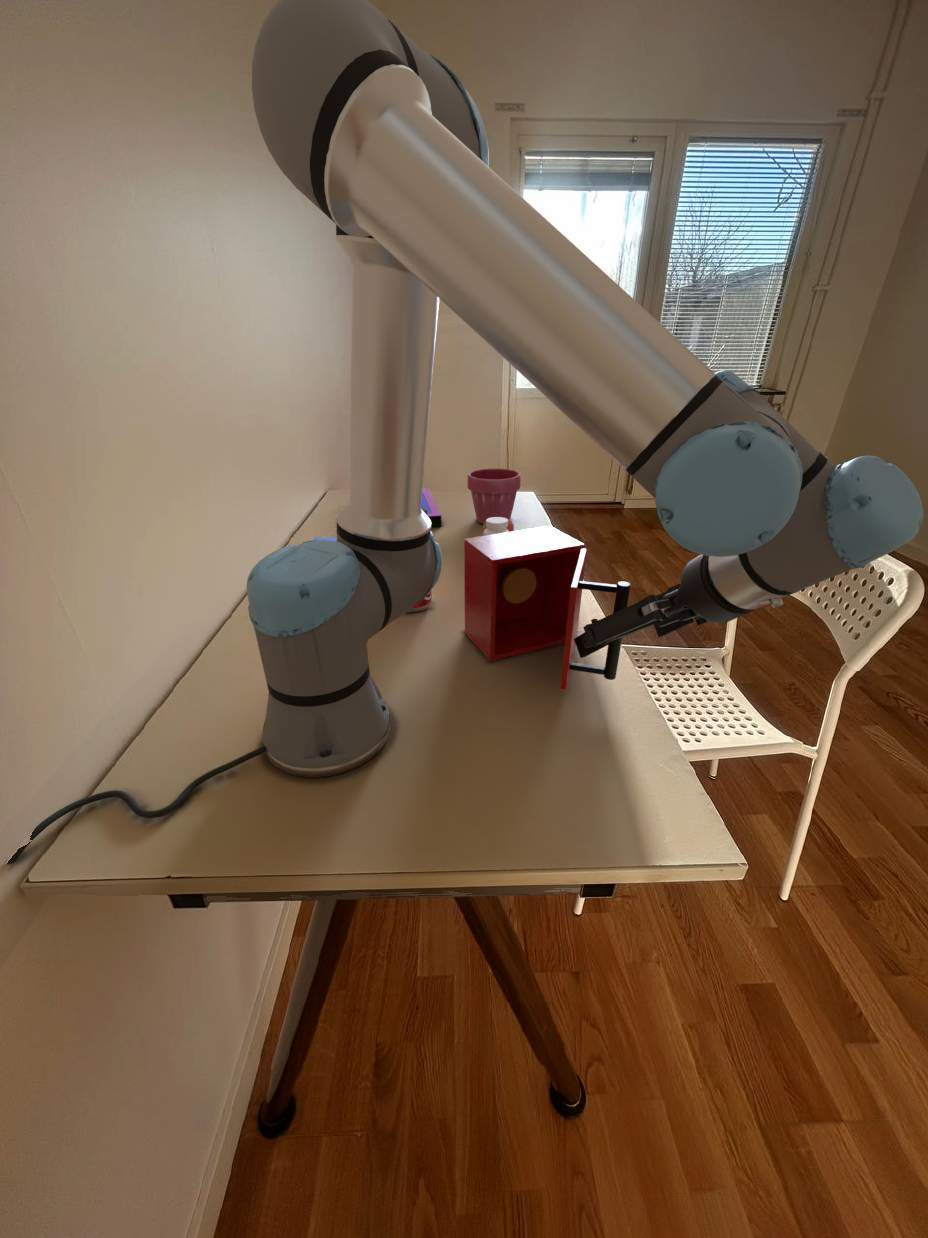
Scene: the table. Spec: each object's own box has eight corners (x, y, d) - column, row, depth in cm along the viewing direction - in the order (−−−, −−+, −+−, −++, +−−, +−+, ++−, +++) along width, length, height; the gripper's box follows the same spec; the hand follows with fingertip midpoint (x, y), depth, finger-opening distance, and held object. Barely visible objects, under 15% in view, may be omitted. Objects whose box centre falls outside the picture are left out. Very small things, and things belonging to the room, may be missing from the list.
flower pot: (464, 513, 147) (464, 468, 141) (513, 511, 148) (515, 466, 142) (471, 529, 134) (471, 480, 128) (523, 527, 136) (526, 478, 130)
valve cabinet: (574, 640, 84) (585, 544, 76) (490, 661, 79) (492, 560, 71) (543, 615, 92) (550, 525, 84) (464, 632, 87) (464, 538, 79)
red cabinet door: (617, 645, 81) (631, 552, 73) (613, 698, 69) (630, 593, 62) (571, 639, 83) (581, 547, 75) (560, 689, 71) (570, 586, 63)
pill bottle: (489, 570, 110) (490, 525, 106) (478, 561, 115) (478, 517, 110) (513, 566, 112) (515, 521, 108) (501, 557, 117) (502, 514, 112)
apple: (485, 552, 120) (485, 518, 116) (480, 541, 126) (480, 509, 122) (516, 550, 121) (517, 517, 117) (509, 540, 127) (510, 508, 123)
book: (360, 520, 132) (360, 491, 158) (361, 531, 134) (361, 500, 160) (441, 515, 135) (427, 487, 161) (441, 526, 137) (428, 497, 163)
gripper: (652, 637, 46) (551, 685, 66) (835, 589, 55) (698, 643, 74) (622, 562, 48) (533, 630, 68) (804, 526, 57) (678, 596, 76)
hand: (619, 637), depth 71 cm, fingers open, 12 cm apart
